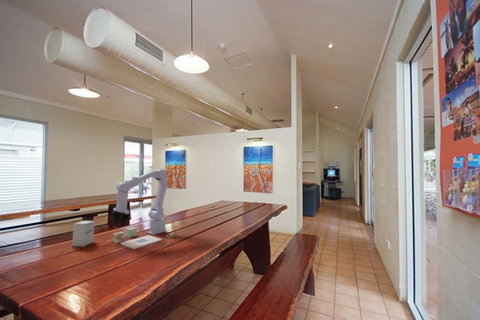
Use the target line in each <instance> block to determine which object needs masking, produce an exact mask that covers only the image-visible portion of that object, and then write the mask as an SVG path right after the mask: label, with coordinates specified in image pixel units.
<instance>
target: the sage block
mask: <svg viewBox="0 0 480 320" xmlns="http://www.w3.org/2000/svg"><path fill="white" fill-rule="evenodd" d="M137 229H138V228H137V227H133V226H132V227H128V228H126V229H125V237H126V238H133V236H134V237H136V236H137V232H138V231H137Z"/></svg>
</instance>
